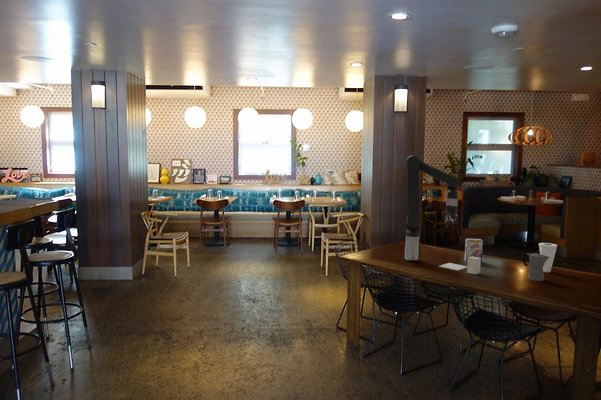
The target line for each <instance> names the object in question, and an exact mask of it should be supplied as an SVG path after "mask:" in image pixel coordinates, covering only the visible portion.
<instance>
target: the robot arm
mask: <svg viewBox="0 0 601 400" xmlns="http://www.w3.org/2000/svg"><path fill="white" fill-rule="evenodd" d="M405 163H406V166H407V168H406V169H407V178H406V179H407V181H406V187H405V188H406V202H407V216H406V219H405V245H404V246H405V247H404V259H405V261H418V260H419V242H420V241H419V240H420V229H419V228H420V227H419V226H420V222H421V218H420V209H419V208H420V207H419V205H420V194H421V192H420V190H421V189H420V177H419V173H420V172H422V173H424V174H426V175H428V176H429V177H431V178H433V179H435V180H437V181H439V182H440V183H441V182H442V183H445V184H446V191H447V194H446V202H445V203H446V204H445V212H446V213H444V215H443V222H444V223H445V229H449V228H450V227H449V226H450V222H452V223H451V230H452V229H454V230H455V229H456V224H457V223H458V222H459V214H458V213H457V212H458V197H459V196H458V195H459V194H458V193H459V192H458V191H457V189H458V186H459V185H460V179H459V178H458V177H456V176H455V175H453V174H449V173H447V172H444V171H443V170H442V169H439V168H437V167H434V166H433V165H430V164H428V163H426V162H424V161H422V160H421V159H420V158H419V157H418V156H417V155H413V154H412V155H409V156H408V157H407V158H406V160H405Z"/></svg>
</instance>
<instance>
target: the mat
mask: <svg viewBox="0 0 601 400" xmlns="http://www.w3.org/2000/svg"><path fill="white" fill-rule="evenodd" d="M438 267H439V268H443V269H449V270H452V271H458V272H459V271H461V270H464V269H467V266H466V265H461V264H456V263H452V262H448V263H443V264H441V265H438Z"/></svg>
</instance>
